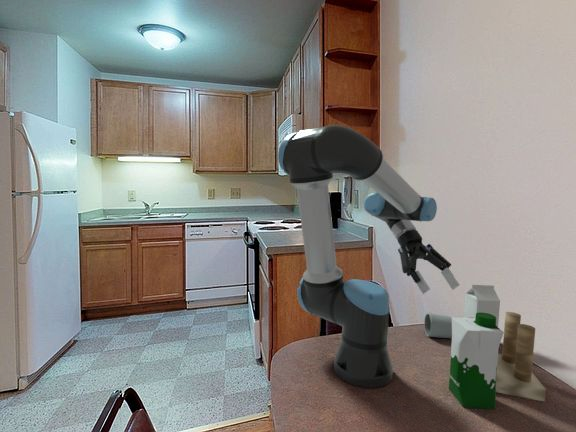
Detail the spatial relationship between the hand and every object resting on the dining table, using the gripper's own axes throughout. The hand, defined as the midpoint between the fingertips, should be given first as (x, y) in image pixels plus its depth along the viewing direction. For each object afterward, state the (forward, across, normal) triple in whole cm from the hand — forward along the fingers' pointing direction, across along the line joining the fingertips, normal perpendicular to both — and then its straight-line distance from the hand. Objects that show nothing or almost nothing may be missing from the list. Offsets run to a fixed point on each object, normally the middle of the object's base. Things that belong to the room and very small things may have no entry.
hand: (441, 289), depth 98 cm
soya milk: (+28, +15, +1) cm, 32 cm away
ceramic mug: (+8, -8, -18) cm, 22 cm away
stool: (+25, 0, -1) cm, 25 cm away
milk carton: (+15, -17, -12) cm, 26 cm away
